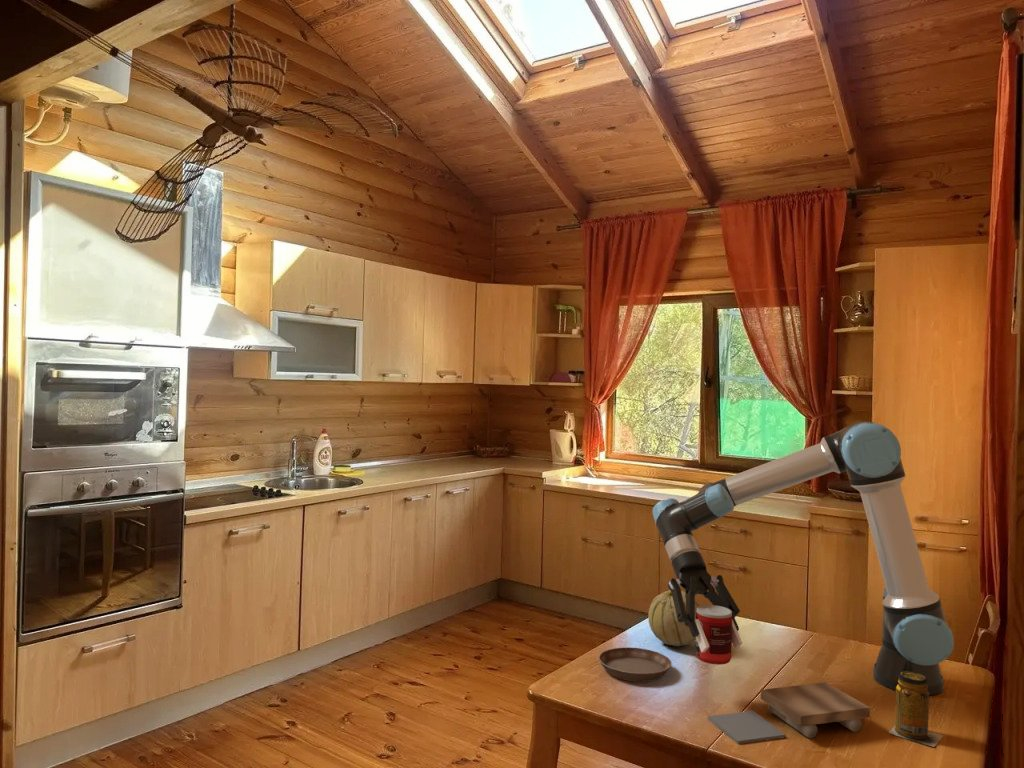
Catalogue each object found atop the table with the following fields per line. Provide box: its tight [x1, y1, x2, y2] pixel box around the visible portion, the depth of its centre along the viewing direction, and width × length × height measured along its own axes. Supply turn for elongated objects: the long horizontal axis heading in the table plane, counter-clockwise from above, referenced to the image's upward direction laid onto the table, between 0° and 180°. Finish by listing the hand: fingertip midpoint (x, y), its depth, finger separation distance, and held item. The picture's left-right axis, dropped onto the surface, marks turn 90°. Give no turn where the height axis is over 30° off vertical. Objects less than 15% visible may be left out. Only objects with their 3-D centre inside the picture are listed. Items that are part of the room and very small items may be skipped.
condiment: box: [887, 672, 944, 748], centre depth 152 cm, size 7×8×12 cm
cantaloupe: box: [647, 589, 701, 647], centre depth 201 cm, size 15×15×15 cm
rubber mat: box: [707, 710, 786, 745], centre depth 153 cm, size 11×11×1 cm
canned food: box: [695, 604, 733, 666], centre depth 167 cm, size 8×8×11 cm
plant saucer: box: [598, 647, 672, 683], centre depth 182 cm, size 18×18×3 cm
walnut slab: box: [760, 682, 871, 739], centre depth 157 cm, size 17×13×5 cm
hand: (722, 647), depth 164 cm, fingers closed on canned food, 8 cm apart
